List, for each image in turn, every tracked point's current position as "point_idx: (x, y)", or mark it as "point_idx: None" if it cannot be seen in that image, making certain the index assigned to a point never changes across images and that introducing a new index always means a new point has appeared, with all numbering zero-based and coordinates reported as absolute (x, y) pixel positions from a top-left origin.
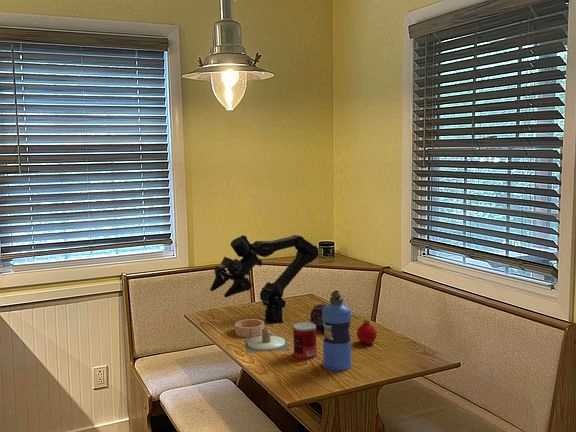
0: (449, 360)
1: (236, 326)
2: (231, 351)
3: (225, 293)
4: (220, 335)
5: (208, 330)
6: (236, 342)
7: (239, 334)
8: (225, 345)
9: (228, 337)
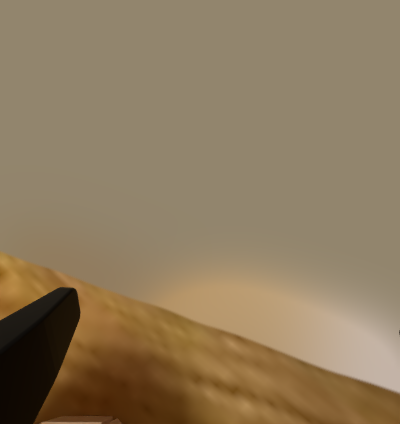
0: None
1: (92, 421)
2: (4, 257)
3: (51, 304)
4: (188, 359)
5: (293, 367)
6: None
7: (77, 417)
8: (72, 285)
9: (134, 368)
